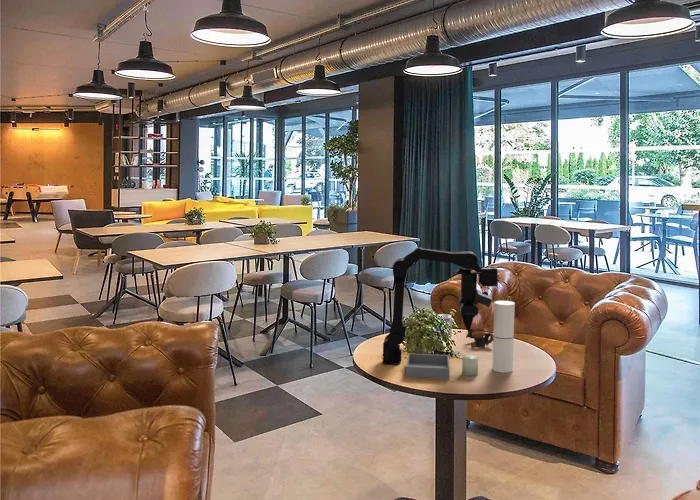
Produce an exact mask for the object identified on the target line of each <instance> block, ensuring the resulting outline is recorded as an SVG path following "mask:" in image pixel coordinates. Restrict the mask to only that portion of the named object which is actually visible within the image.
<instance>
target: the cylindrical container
mask: <svg viewBox="0 0 700 500" xmlns="http://www.w3.org/2000/svg"><path fill="white" fill-rule="evenodd" d="M493 303H494V304H493V305H494V307H493V333H492V334H493V341H492V367H491V368H492V371H494V372H497V373H504V374H505V373H507V374H508V373H512V372H513V368H514V367H513V366H514V365H513V364H514V339H515V338H514V337H515V313H516V312H515V306H516V305H515V303H516V302H514V301H512V300H511V301H510V300H496V301H494V302H493Z"/></svg>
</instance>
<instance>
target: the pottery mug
mask: <svg viewBox="0 0 700 500" xmlns="http://www.w3.org/2000/svg"><path fill="white" fill-rule="evenodd" d="M466 331H467V330H466ZM489 337H490V338H489ZM466 338H470V339H473V340H474V341H472V342H470V348H471V349H477V348H479V349H481V348H482V349H485V348H486V346H489V344H491V343H493V333H491V332H486V329H483V328H470V331H467V334H466V336H465V339H466Z"/></svg>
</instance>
